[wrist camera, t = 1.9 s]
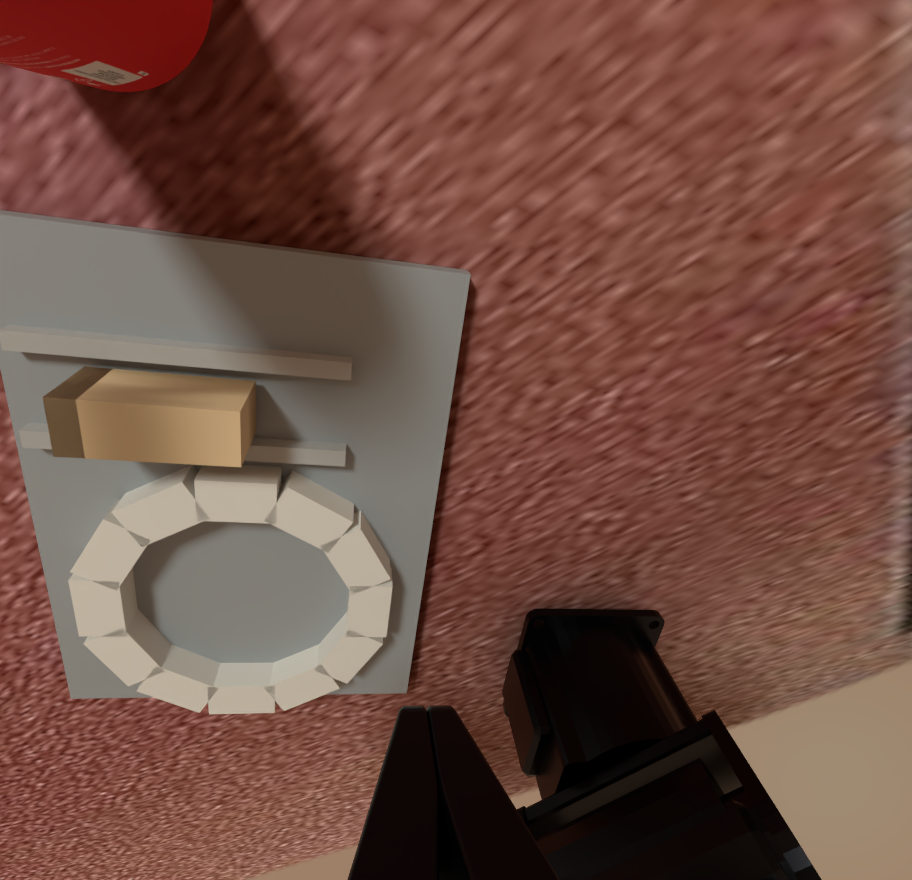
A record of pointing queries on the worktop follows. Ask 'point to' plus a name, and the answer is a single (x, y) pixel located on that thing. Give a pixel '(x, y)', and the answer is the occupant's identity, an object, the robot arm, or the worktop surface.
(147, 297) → the dock board
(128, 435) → the bar
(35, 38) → the beverage can
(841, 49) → the worktop surface
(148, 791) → the worktop surface
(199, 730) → the worktop surface
